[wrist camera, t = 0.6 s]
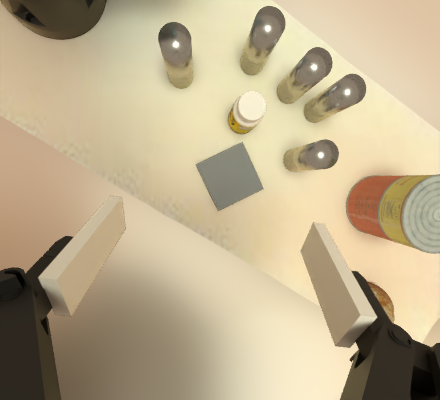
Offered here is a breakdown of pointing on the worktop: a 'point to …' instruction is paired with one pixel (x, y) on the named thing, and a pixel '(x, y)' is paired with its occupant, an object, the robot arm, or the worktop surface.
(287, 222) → the worktop surface
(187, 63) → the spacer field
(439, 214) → the canned food
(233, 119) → the supplement bottle
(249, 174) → the mat
